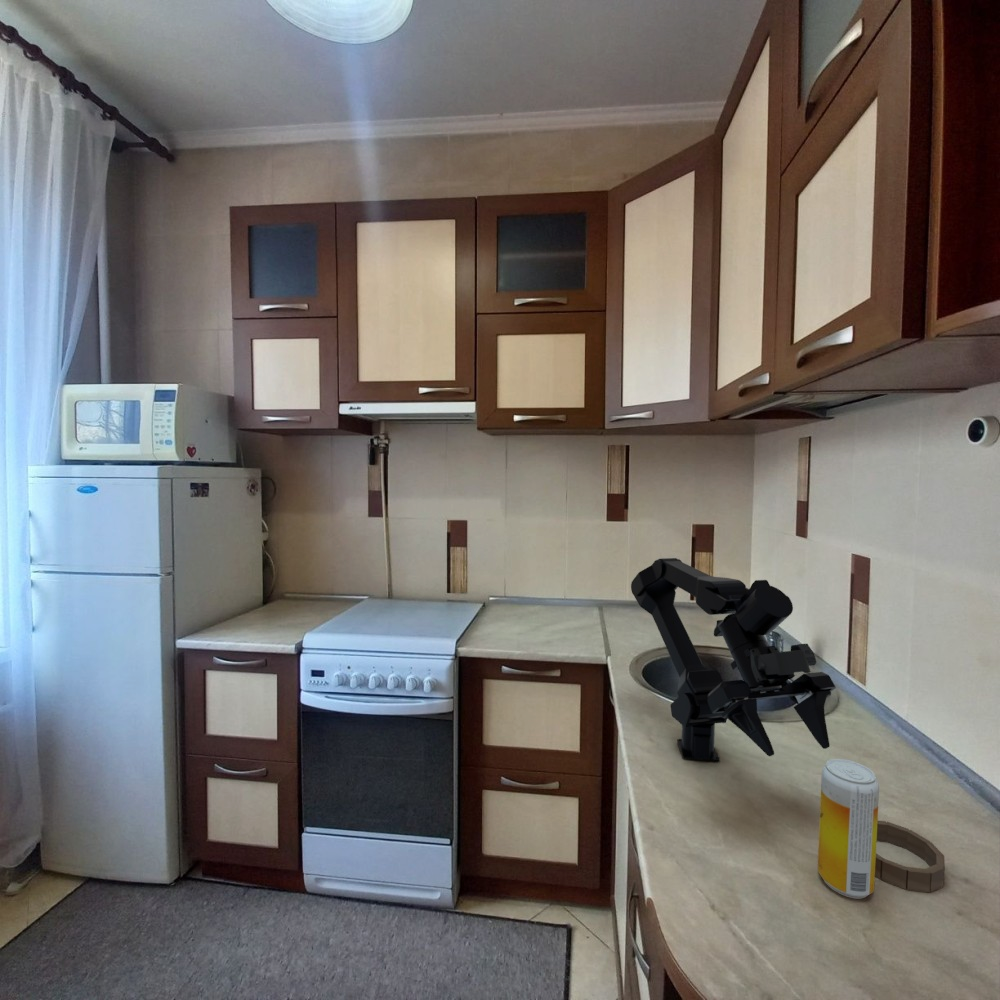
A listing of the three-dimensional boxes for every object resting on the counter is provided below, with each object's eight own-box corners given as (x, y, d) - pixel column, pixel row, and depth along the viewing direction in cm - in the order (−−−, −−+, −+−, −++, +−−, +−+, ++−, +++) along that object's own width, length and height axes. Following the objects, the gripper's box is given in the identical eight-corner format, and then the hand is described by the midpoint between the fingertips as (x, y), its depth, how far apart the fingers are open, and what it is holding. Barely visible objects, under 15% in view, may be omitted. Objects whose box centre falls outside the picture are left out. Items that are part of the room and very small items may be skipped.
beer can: (851, 864, 71) (856, 756, 70) (886, 901, 65) (891, 783, 64) (807, 865, 71) (811, 757, 70) (837, 902, 65) (843, 784, 64)
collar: (837, 833, 78) (838, 816, 77) (913, 840, 76) (914, 824, 76) (874, 886, 68) (875, 867, 68) (962, 896, 66) (964, 877, 66)
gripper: (721, 628, 77) (773, 740, 67) (828, 620, 82) (892, 724, 72) (689, 662, 85) (731, 766, 75) (787, 653, 90) (840, 751, 80)
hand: (799, 751), depth 75 cm, fingers open, 9 cm apart
